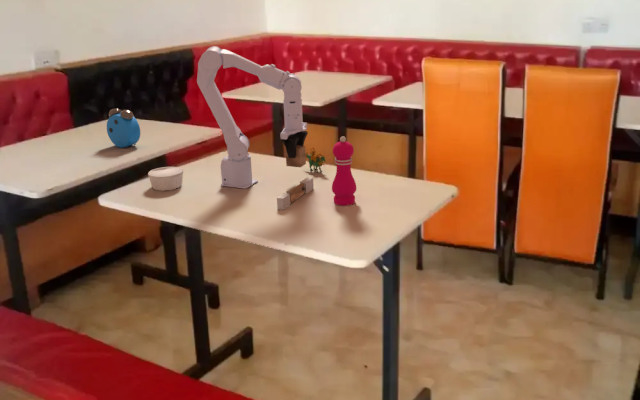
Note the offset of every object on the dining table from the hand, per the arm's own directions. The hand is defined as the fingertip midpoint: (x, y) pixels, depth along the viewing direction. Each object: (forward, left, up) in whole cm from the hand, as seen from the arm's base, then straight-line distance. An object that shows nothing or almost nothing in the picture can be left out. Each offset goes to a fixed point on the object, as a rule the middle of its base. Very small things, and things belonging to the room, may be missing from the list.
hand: (295, 155), depth 215 cm
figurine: (0, +13, -9) cm, 16 cm away
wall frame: (+7, -13, -9) cm, 17 cm away
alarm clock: (-85, +17, -9) cm, 87 cm away
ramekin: (-38, -18, -9) cm, 43 cm away
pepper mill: (+22, -12, -9) cm, 27 cm away
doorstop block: (0, 0, -3) cm, 3 cm away
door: (+7, -14, -9) cm, 18 cm away
